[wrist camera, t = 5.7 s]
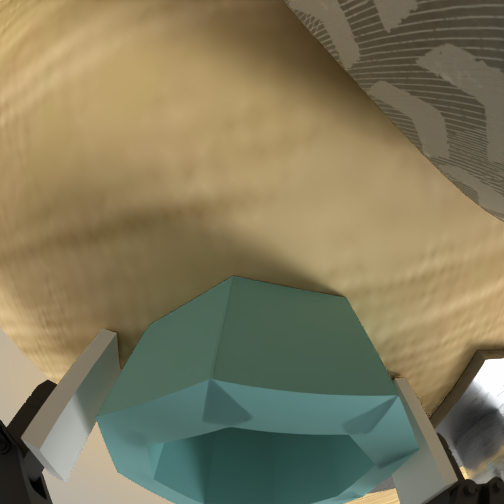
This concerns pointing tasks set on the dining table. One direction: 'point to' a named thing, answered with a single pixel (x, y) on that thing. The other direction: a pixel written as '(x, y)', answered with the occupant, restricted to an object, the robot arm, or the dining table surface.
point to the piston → (473, 419)
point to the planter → (428, 78)
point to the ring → (256, 402)
